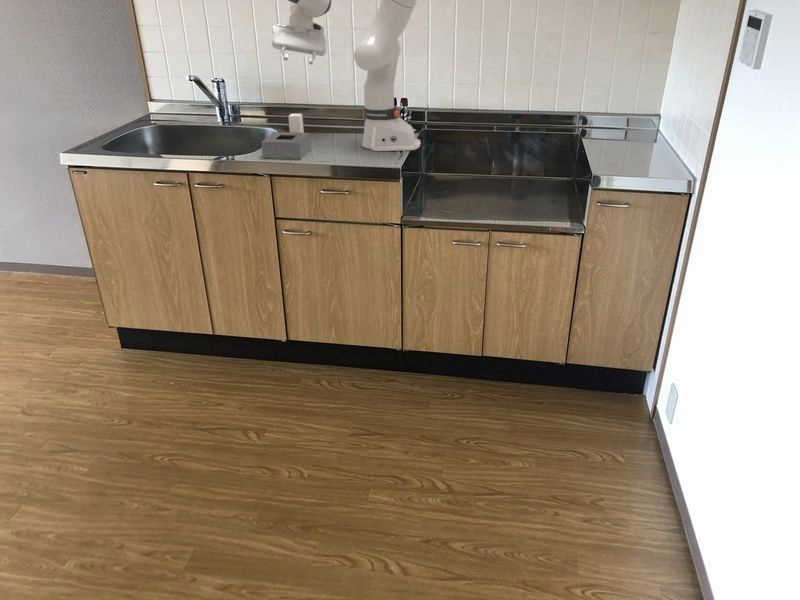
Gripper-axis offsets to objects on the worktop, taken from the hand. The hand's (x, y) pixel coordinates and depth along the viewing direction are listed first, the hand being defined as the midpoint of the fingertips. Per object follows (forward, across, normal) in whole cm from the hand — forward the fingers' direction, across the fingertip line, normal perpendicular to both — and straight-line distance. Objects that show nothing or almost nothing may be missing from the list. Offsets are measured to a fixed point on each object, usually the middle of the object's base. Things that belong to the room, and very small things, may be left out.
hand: (298, 61), depth 253 cm
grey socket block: (+37, -2, +1) cm, 37 cm away
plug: (+28, +3, +11) cm, 30 cm away
